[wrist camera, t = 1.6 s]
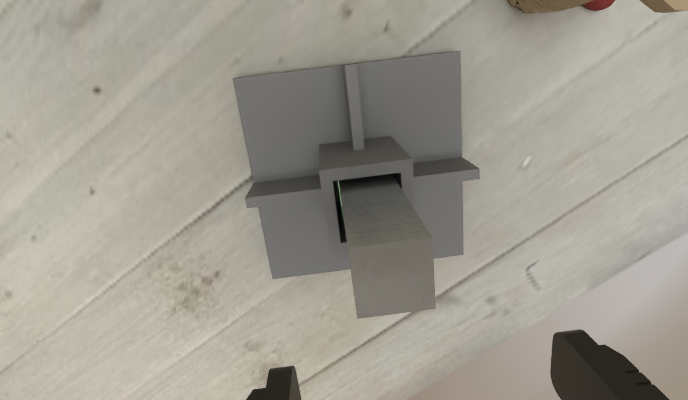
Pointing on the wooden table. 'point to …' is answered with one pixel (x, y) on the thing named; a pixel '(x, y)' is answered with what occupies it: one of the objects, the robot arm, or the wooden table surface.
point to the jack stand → (352, 152)
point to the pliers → (598, 4)
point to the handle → (531, 3)
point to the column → (386, 248)
